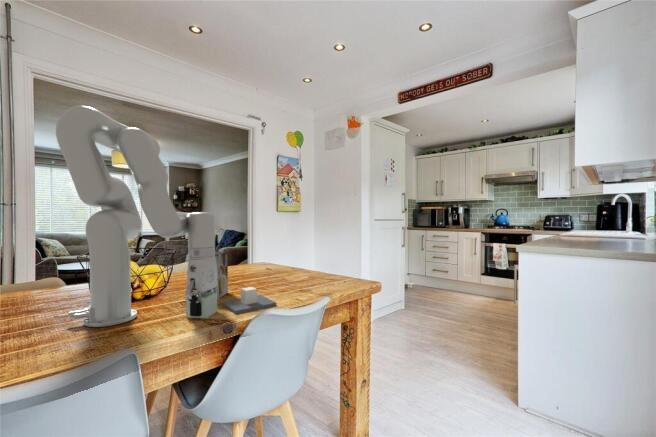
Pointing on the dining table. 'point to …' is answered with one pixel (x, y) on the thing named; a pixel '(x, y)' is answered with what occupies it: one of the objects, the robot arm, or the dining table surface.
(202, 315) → the square sleeve
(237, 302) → the base
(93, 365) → the dining table surface
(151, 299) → the dining table surface
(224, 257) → the coffee box
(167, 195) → the robot arm
